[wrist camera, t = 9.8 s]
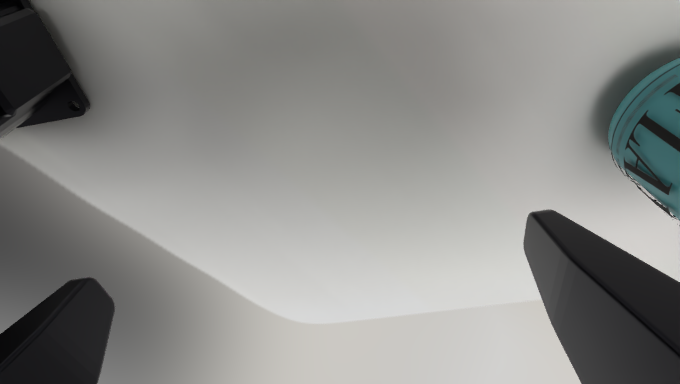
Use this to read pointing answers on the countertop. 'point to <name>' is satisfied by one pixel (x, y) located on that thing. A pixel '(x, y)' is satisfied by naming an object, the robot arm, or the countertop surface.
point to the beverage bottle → (651, 136)
